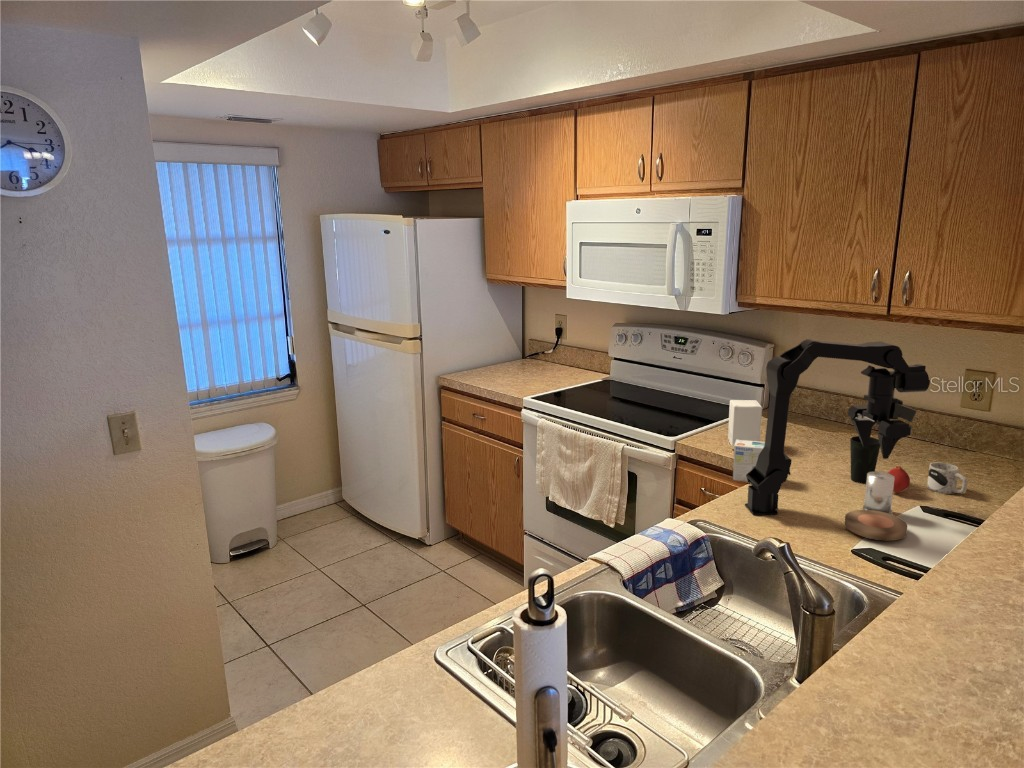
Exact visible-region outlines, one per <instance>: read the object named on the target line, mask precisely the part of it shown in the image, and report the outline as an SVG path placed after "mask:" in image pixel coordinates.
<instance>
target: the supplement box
mask: <svg viewBox="0 0 1024 768" xmlns="http://www.w3.org/2000/svg"><path fill="white" fill-rule="evenodd" d="M728 410H729V411H728V429H727V430H728V431H727V440H728V439H729V442H730V444H731V445H732V446H734V445H735V442H736V439H737V440H747V441H760V442H761V428H762V414H763V406H761V404H760V403H759V402H758V400H755V399H753V400H752V399H751V400H749V399H747V400H745V399H730V400H729V408H728Z"/></svg>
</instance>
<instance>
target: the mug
mask: <svg viewBox="0 0 1024 768" xmlns="http://www.w3.org/2000/svg"><path fill="white" fill-rule="evenodd" d="M959 469H960V468H959V467H958V466H957V465H955V464H952V463H947V462H939V461H938V462H937V461H935V462H930V463H929V468H928V475H927V486H926V488H927V489H928V490H929V491H931V492H934V493H938V494H942V495H943V494H944V495H952V494H955V493H958V494H965V493H966V491H967V488H968V478H967V477H966V476H964V475H963V474H961V473H959ZM958 479H959V480H961V482H962V485H961V488H958V487H957V484H958Z"/></svg>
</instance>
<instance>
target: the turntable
mask: <svg viewBox="0 0 1024 768" xmlns="http://www.w3.org/2000/svg"><path fill="white" fill-rule="evenodd" d="M844 526H845V528H846V529H847V530H849V531H850V532H852V533H853V534H856V535H858V536H860V537H864V538H866V537H867V538H866V539H869V538H871V539H870V540H874V539H877V540H876V541H898V540H901V539H904V538H905V537H907V532H908V523H907V522H906V521H905V520H903V519H902V518H900V517H899V516H897V515H894V514H892V515H891V514H888V513H885V512H880V511H874V510H863V509H857V510H856V509H855V510H851V511H848V512H846V514H845V516H844Z"/></svg>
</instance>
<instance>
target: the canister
mask: <svg viewBox="0 0 1024 768" xmlns="http://www.w3.org/2000/svg"><path fill="white" fill-rule="evenodd" d="M894 479H895V477H894V476H893V475H891V474H889V473H888V472H883V471H877V470H875V471H874V472H869V473H867V482H866V484H865V494H864V502H863V506H862V510H874V511H880V512H885V513H888V514H891V515H893V513H892V512H893V510H892V505H893V495H894V492H893V488H894Z"/></svg>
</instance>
